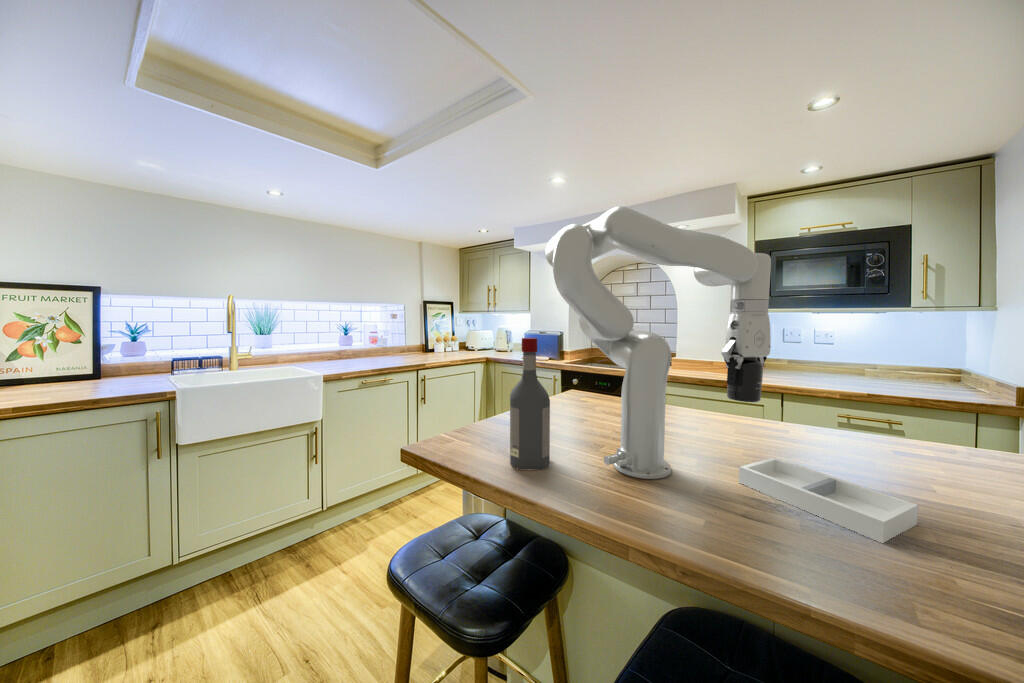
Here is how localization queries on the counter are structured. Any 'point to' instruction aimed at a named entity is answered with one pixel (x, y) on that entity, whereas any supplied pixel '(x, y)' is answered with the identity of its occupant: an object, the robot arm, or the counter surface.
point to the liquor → (529, 415)
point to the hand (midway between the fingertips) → (744, 383)
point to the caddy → (831, 498)
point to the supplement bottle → (748, 382)
